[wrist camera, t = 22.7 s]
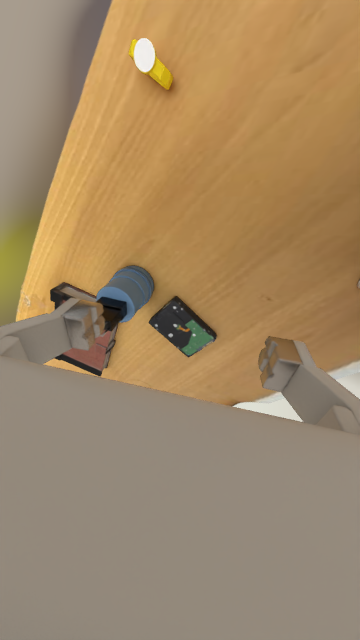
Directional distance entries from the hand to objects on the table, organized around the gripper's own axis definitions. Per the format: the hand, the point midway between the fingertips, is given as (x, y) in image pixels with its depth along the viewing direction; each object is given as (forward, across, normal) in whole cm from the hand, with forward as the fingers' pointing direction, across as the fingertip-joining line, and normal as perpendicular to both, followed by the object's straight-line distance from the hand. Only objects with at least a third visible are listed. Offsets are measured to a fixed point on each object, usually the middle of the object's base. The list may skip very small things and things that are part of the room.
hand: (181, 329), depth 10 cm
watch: (+36, +12, -18) cm, 42 cm away
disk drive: (+36, +2, +26) cm, 44 cm away
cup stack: (+36, +15, +17) cm, 43 cm away
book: (+37, +31, +36) cm, 60 cm away
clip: (+25, +16, +17) cm, 34 cm away
